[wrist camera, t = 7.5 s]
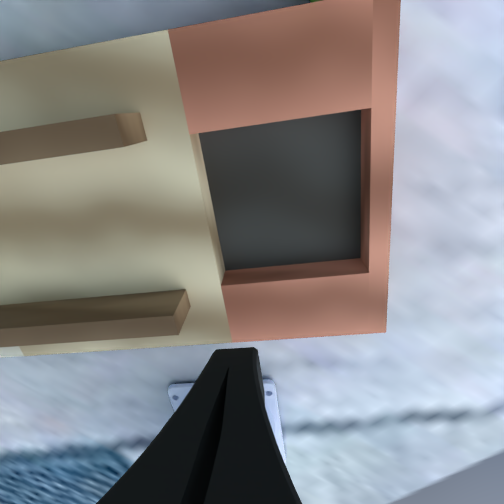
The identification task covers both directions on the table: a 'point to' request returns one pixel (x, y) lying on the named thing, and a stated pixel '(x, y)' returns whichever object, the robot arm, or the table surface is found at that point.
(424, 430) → the table surface
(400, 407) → the table surface
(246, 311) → the trap track
